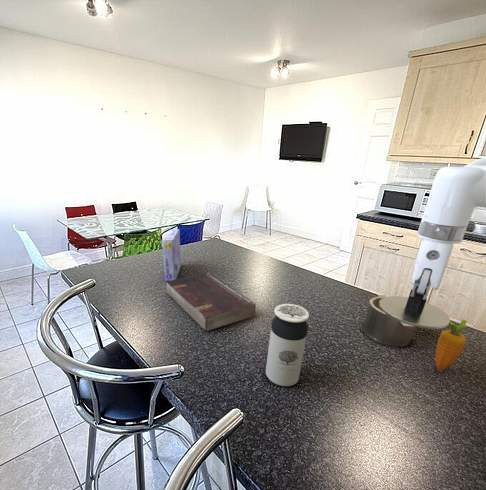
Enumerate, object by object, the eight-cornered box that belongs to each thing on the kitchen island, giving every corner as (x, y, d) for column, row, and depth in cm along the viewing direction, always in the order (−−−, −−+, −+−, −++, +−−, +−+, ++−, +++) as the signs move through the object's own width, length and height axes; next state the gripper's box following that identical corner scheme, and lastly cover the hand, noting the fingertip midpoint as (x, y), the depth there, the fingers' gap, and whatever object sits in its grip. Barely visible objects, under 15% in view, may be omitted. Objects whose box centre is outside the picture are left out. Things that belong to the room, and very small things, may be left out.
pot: (394, 319, 96) (402, 294, 92) (423, 355, 80) (435, 325, 76) (354, 316, 98) (361, 291, 94) (375, 350, 81) (383, 321, 77)
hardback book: (254, 315, 97) (256, 302, 95) (206, 332, 87) (206, 317, 85) (209, 283, 119) (209, 271, 117) (166, 293, 110) (166, 281, 108)
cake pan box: (171, 264, 137) (170, 227, 130) (181, 264, 137) (181, 227, 130) (163, 281, 119) (161, 240, 112) (175, 282, 119) (174, 240, 112)
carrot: (432, 375, 73) (453, 324, 67) (424, 362, 77) (443, 313, 71) (455, 379, 72) (479, 327, 66) (445, 365, 76) (466, 316, 70)
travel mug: (269, 360, 76) (276, 300, 69) (300, 369, 74) (311, 307, 66) (262, 381, 69) (270, 316, 62) (296, 391, 67) (309, 324, 60)
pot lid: (427, 302, 73) (435, 280, 70) (462, 334, 60) (474, 308, 58) (369, 298, 74) (375, 275, 72) (393, 328, 62) (401, 302, 59)
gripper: (465, 244, 51) (431, 331, 59) (463, 227, 63) (434, 301, 70) (415, 236, 55) (388, 318, 63) (422, 221, 67) (399, 292, 75)
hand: (413, 309), depth 67 cm, fingers closed on pot lid, 2 cm apart
